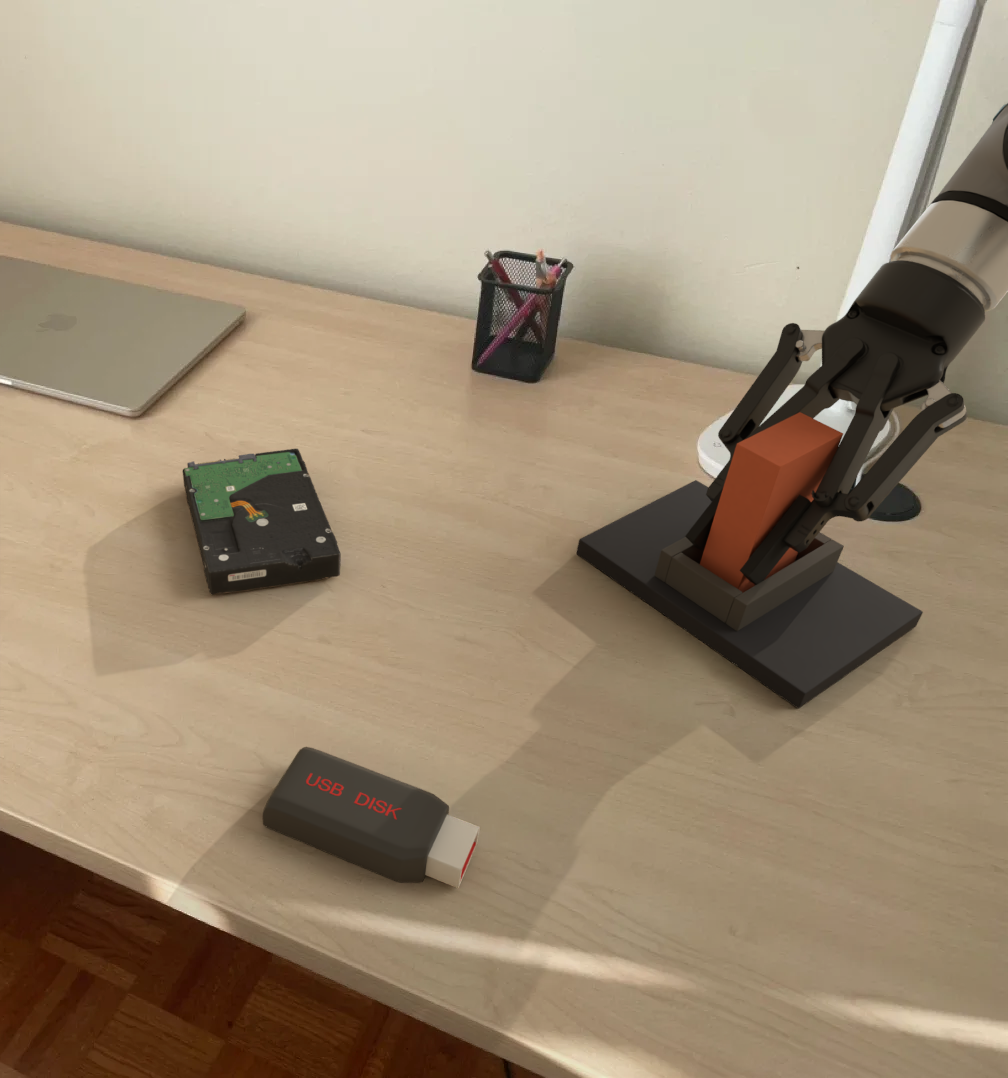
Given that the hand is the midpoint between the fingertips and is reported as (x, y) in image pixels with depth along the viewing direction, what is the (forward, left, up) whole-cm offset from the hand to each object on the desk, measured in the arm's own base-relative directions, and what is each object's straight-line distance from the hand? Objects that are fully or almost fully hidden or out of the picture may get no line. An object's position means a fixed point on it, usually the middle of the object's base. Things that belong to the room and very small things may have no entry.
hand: (721, 560), depth 76 cm
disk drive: (+34, +7, -5) cm, 35 cm away
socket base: (-2, -3, -5) cm, 6 cm away
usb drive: (+14, +29, -5) cm, 33 cm away
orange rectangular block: (-2, -3, -3) cm, 5 cm away
